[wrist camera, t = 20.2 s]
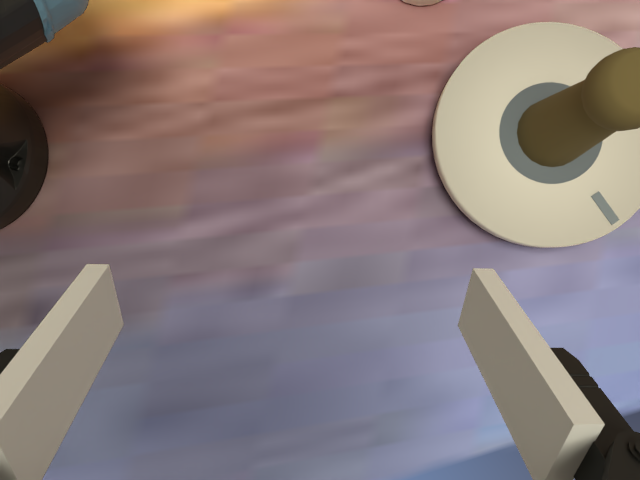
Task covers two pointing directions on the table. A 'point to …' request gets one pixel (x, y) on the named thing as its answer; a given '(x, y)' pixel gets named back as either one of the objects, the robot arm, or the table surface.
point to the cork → (584, 112)
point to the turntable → (506, 154)
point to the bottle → (421, 2)
